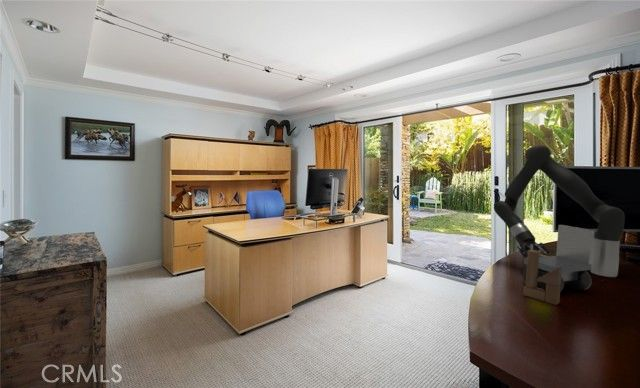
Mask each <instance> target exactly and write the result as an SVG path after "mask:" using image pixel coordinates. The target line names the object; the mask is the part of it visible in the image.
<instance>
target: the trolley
mask: <svg viewBox="0 0 640 388" xmlns="http://www.w3.org/2000/svg"><path fill="white" fill-rule="evenodd" d="M557 229H558V230H557V240H556V241H557V242H556V243H557V244H556V253H555V254H556V255H548V256H546V257H539V264H538V278H540V277H542V276H543V275H545V274H547V273H549V272H551V271H553V270H554V269H556V268H558V267H560V266H562V275H561V284H560V285H561V288H560V293H561V292H562V291H563V289H564V287H565V284H567V285H568V286H569V287H570V288H572V289H574V290H576V291H584V290H587V289H590V287H591V286H592V283H593V280H592V276H591V274H590V273H589V272H588V271H591V267H592V255H593V243H594V233H595V230H594V229H588V228H583V227H577V226H571V225H565V224H558V227H557ZM523 264H524V265H526V266H524V268H523V269H522V278H523V280H524V281H525V282H526V272H527V257H523ZM538 278H537V279H538ZM546 284H547V283H543V282H539V281H537V288H539V287H540V288H541V289H543V290H545V291H546Z"/></svg>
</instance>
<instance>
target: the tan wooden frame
mask: <svg viewBox="0 0 640 388" xmlns="http://www.w3.org/2000/svg"><path fill="white" fill-rule="evenodd" d="M539 251H540V250H539ZM539 251H536V250H528V257H526V258H527V264H526V266H527V272H526V281H525V285H524V286H523V289H522V290H523V291H522V292H523V293H522V295H523V296H524V297H527V298H531V299H535V300H537V301H542V302H545V303H547V304H551V305H553V306H557V305H558V304H560V297H561V292H560V288H561V285H560V284H561V275H562V266H560V267H558V268H556V269H554V270H553V271H551V272H549V273H547V274H545V275H543V276H542V277H540V278H538V264H539ZM537 278H538V279H537ZM537 281H539V282H543V283H547V284H546V291H545V290H543V289H542V288H541V287H537Z"/></svg>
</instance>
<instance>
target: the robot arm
mask: <svg viewBox="0 0 640 388" xmlns="http://www.w3.org/2000/svg"><path fill="white" fill-rule="evenodd" d="M524 155H525V157H524V158H525V160H526V161H525V163H524V165H523V167H522V169H521V170H520V171H519V172H518V174H517V175H516V176H515V177H514V179H512V180H511V182H510V183H509V186H508V187H507V188H506V190H505V192H504V197H505V199H504V201H503V200H498V201H496V202H495V203H494V204H493V210H494V212H495V214H496V215H497V216H498V217H499V218H500V219H501V220H502V221H503V222H504V223H505V225H506V226H507V228H508V230H509V231H510V233H511V235H512V237H513V238H514V239H515V241H516V242H517V243H518V245H517V246H516V247H517V249H518V252H520V254H521V256H522V257H523V258H527V257H528V250H536V251H539V254H542V255H546V256H549V254H550V253H551V252H550V251H549V250H548V248H547V247H546V245H544V243H543V242H539V243H537V242H536V237H535V235H534V234H533V233H532V231H531V230H530V229H529V227H528V226H527V225H526V224H525V223H524V222H523V220H522V219H521V218H520V216H518V215H517V214H515V213H514V212H515V211H516V208H517V205H518V201H519V199H520V198H521V196H522V195H523V193H524V192H525V190H526V189H527V187H528V185H529V184H530V182H531V180H532V179H533V177H534V176H535V175H536V174H537V172H538V171H539V170H540V171H541V172H542V173H544V174H545V176H547V177H548V179H550V180H551V181H552V182H553V183H554V184H555V185H556V186H557V187H558V188H559V189H560V190H561V191H562V192H563V193H565V195H567V196H568V197H570V198H571V199H572V200H573V201H575V202H576V203H577V204H579V205H580V206H581V207H582V208H583V209H584V210H585V211H586V212H587V214H589V215H590V216H591V218H592V219H593V220H594V221H595V222H597V223H598V227H597V230H596V231H594V243H593V255H592V267H591V270H590V273H591V274H595V275H597V276H602V277H608V278H616V277H617V276H618V275H619V263H620V255H619V254H620V244H621V243H620V241H621V237H622V236H623V234H624V229H625V220H626V215H625V213H624V211H623V210H622V209H620V208H618V207H616V206H611V205H608V204H607V203H605V202H603V201H602V200H601V199H600V198H598V197H597V196H596V195H595V194H594V192H593V190H591V188H590V186H589V185H588V184H587V182H586V181H585V180H583V179H582V178H581V177H580V176H578V174H576V173H575V172H573V171H572V170H570V169H569V168H567V167H565V166H563V165H561V164H560V163H558V162H557V161H555V159H554V158H553V157H551V151H550V148H549V147H547V146H546V145H541V144H540V145H539V144H538V145H533V146H531V147H529V148H528V149H526V151H525V154H524Z"/></svg>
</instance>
